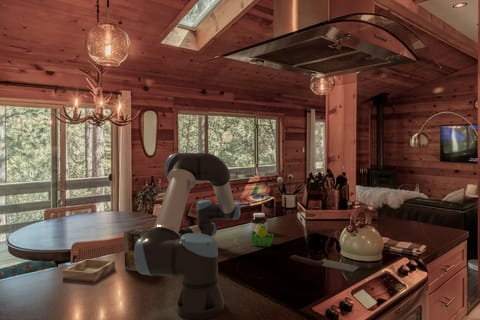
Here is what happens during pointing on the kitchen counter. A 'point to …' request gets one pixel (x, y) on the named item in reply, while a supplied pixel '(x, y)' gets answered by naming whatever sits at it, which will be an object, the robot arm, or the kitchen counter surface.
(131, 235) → the coffee box
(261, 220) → the spread jar
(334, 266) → the cleaver
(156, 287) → the kitchen counter surface
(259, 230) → the fruit basket
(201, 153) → the robot arm
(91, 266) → the box
